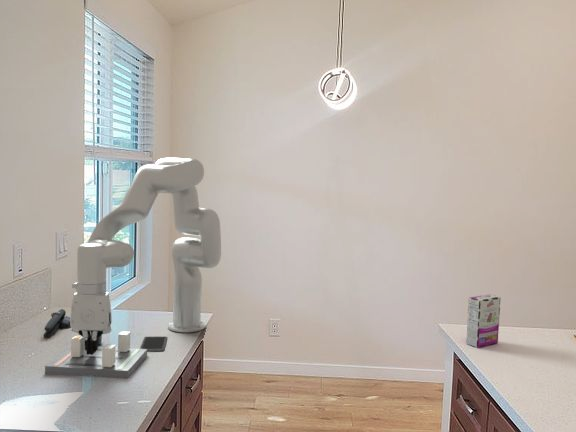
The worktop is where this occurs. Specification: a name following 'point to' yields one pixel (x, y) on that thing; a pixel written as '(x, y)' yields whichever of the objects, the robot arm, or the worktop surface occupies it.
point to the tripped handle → (77, 346)
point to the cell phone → (154, 344)
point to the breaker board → (97, 364)
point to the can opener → (56, 322)
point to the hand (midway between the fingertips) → (91, 352)
